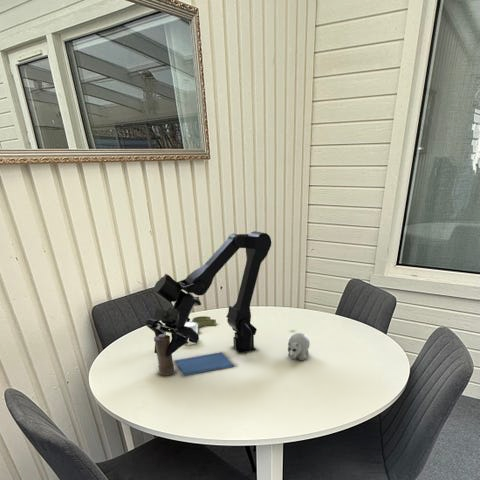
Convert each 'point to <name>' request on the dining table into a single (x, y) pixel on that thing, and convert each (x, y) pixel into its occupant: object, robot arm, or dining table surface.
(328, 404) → the dining table surface
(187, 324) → the white cylinder
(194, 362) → the napkin
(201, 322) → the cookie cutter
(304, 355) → the grey bear figurine
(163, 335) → the pepper mill
